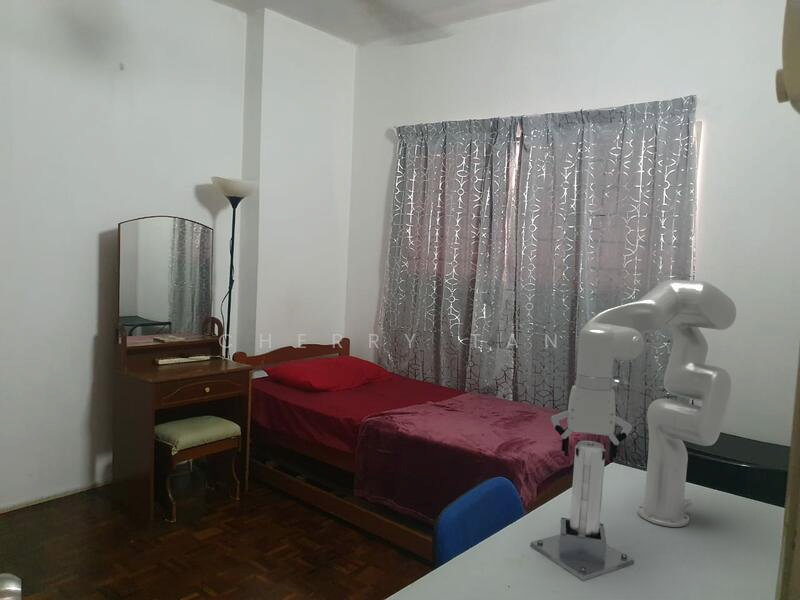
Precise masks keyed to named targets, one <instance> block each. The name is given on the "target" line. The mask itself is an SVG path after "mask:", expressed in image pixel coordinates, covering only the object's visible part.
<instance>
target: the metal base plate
mask: <svg viewBox="0 0 800 600" xmlns="http://www.w3.org/2000/svg"><path fill="white" fill-rule="evenodd" d="M569 526H570V517H567V518H566V517H561V518H560V526H559V527H560V528H559V534H556V535H552V536H548V537H545V538H541V539H536V540H533V541H531V542H530V547H531V548H533V550H535V551H537V552H538V553H540V554H541V555H543V556H544V557H546V558H548V559H549V560H551V561H552V562H554V563H555V564H557V565H558V566H560V567H561V568H563V569H565V571H568V572H569V573H570V574H572V575H574V576H575V577H577V579H580V580H581V581H582V582H584V581H587V580H590V579H593V578H595V577H599V576H601V575H604V574H607V573H608V574H609V573H611V572H613V571H616V570H619V569H623V568H625V567H629V566H632V565H634V564H635V559H634V558H633V557H630V556H629V555H628V554H626V553H623V552H622V551H620V550H618V549H616V548H614V547H613V546H611V545H609V544H608V543H607V536H606V532H605V526H604V523H601V522H600V527H599V539H593V538H587V537H581V536H575V535H569Z"/></svg>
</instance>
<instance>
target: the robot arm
mask: <svg viewBox="0 0 800 600" xmlns="http://www.w3.org/2000/svg"><path fill="white" fill-rule="evenodd" d="M736 318H737V307H736V305H735V303H734V301H733V299H732V298H730V297H729V296H728V295H727V294H725V292H723V291H722V290H720V288H718V287H716V286H714V285H713V284H712V283H709V282H705V281H698V280H689V279H688V280H687V279H685V280H684V279H667V280H664V281H662V282H660V283H659V284H657V285H656V286H655V287H654V288H652V289H651V290H650V291H648V293H646V294H645V295H644V296H642V297H641V298H640V299H638V300H637V301H633V302H629V303H625V304H622V305H619V306H615V307H612V308H609V309H606V310H603V311H601V312H599V313H598V314H596V315H595V316H594V317H592V318H591V319H590V320H589V321H587V322H586V323H585V324H584V326H583V327H582V328H581V330H580V332H579V335H578V336H579V337H578V347H577V348H578V350H577V351H578V352H577V364H576V378H575V379H576V380H575V384H574V385H572V387H571V390H570V394H569V398H568V405H567V406H568V407H567V410H563V411H562V412H559V413H557V414H554V415H552V416H551V417H550V420H551V423H552V425H553V427H554V429H555V431H556V432H557V433H558V434H559V435H560V437H561V452H564V454H563V455H564V457H568V456H569V446H570V435H571V434H573V433H581V434H586V435H587V434H588V435H589V434H590V435H595V436H596V435H598V436H607V437H608V438H609V440H610V441H609V443H608V445H609V447H608V460H609V463H614V459H617V456H618V455H617V453H618V452H617V451H618V446H619V444H620V443H621V442H622V441H624V440H626V439H627V436H628V435H629V434H630V432H631V431H632V429H633V427H632V424H630V423H628V422H627V421H625V420H624V419H622V418H620V417H619V416H617V415H616V395H615V389H613V387H619V382H620V380H619V379H615V378H614V377H613V371H614V368H613V366H614V360H621V361H631V360H634V359H636V358H637V357H638V356H640V355H641V353H642V352H643V351H644V346H645V339H644V337H643V335H642V334H647V333H652V332H656V331H659V330H661V329H663V327H665V326H666V325H668V324H669V326H670V329H671V333H672V339H673V340H672V342H673V343H672V347H671V352H670V354H669V358H668V362H667V365H666V368H665V373H664V377H663V388H664V390H665V391H666V392H667V393H669V394H671V395H674V396H676V397H677V396H678V397H681V398H684V399H690V400H693V401H700V402H701V405H698V404H693V403H688V402H684V401H680V400H675V399H671V398H658V399H655V400H654V401H652V402H651V403H650V404H649V406H648V409H647V411H646V412H647V413H646V414H647V415H646V419H647V426H648V427H647V428H648V450H647V451H648V452H647V464H646V465H647V466H646V475H645V490H644V500H643V503H640V504H639V505H638V506H637V509H636V510H637V511H636V512H637V514H638V516H640V518H642V519H644V520H646V521H648V522H650V523H653V524H656V525H659V526H662V527H663V526H664V527H668V528H669V527H672V528H681V527H685V526H688V524H689V522H690V517H689V515H688V514H687V513H686V512H685V509H686V508H688V507H690V506H691V507H692V506H693V501H692V498H691V499H690V498H685V491H686V482H687V471H688V470H687V469H688V463H689V462H688V460H689V457H688V456H689V454H688V450H687V448H686V445H685V443H684V442H688V443H692V444H696V445H698V446H699V445H700V446H704V447H707V446H712V445H714V444H715V443H716V442H717V440H718V439H719V438H720V437H719V436H720V434H721V431H722V429H723V424H724V420H725V416H726V412H727V409H728V405H729V401H730V397H731V392H732V380H731V376H730V374H729V373H728V371H727V370H725V369H724V368H723V367H719V366H715V365H709V364H706V361H707V356H708V352H709V345H708V341H707V339H706V338H705V336H704V334H703V333H702V331H701V329H700V328H703V329H710V330H718V331H720V330H721V331H722V330H727V329H729V328H731V326H733V324H734V323H735V321H736ZM638 358H639V357H638ZM564 419H566V424H567V425H566V427H564V428H563V426H562V425H561V424H560V422H559V421H562V420H564ZM616 425H618V426H620V427H621V428H622V430H621V431H620V432H619V433H617V435H616V434H615V431H616V430H615V429H616Z"/></svg>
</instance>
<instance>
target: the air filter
mask: <svg viewBox="0 0 800 600" xmlns="http://www.w3.org/2000/svg"><path fill="white" fill-rule="evenodd" d="M604 447H605V446H604V445H603V444H602V443H600V442H597V441H593V440H580V441H577V444H576V445H575V448H574V459H573V460H574V461H573V462H574V463H573V473H572V474H573V475H572V477H573V478H572V488H571V499H570V501H571V502H570V513H569V514H570V516H569V519H570V526H569V535H575V536H581V537H587V538H593V539H599V527H600V523H601V515H602V514H601V513H602V512H601V511H602V501H603V488H604V487H603V485H604V475H605V473H604V472H605V463H606V449H605V448H604Z"/></svg>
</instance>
